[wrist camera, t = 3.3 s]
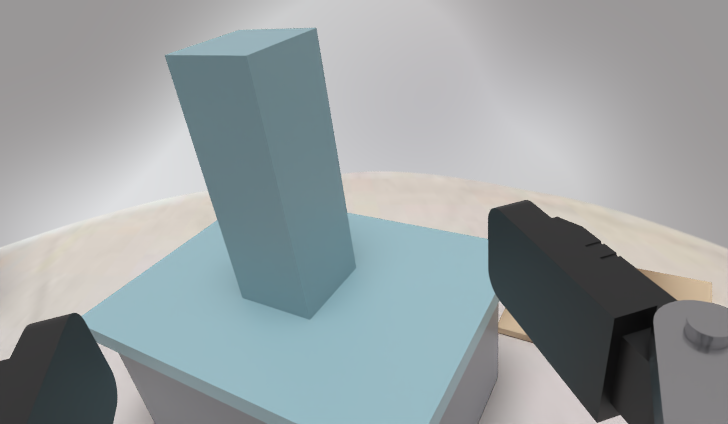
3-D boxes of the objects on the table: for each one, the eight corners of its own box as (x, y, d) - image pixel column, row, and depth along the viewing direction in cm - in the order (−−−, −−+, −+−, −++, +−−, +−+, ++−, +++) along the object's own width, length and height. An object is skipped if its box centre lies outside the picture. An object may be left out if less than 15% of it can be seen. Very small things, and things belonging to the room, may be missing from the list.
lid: (82, 335, 21) (-56, 86, 16) (256, 206, 30) (203, 13, 24) (406, 489, 14) (352, 119, 8) (519, 260, 22) (528, -3, 17)
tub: (159, 432, 25) (106, 329, 22) (282, 307, 32) (257, 214, 29) (413, 576, 18) (394, 458, 15) (497, 376, 25) (498, 265, 22)
